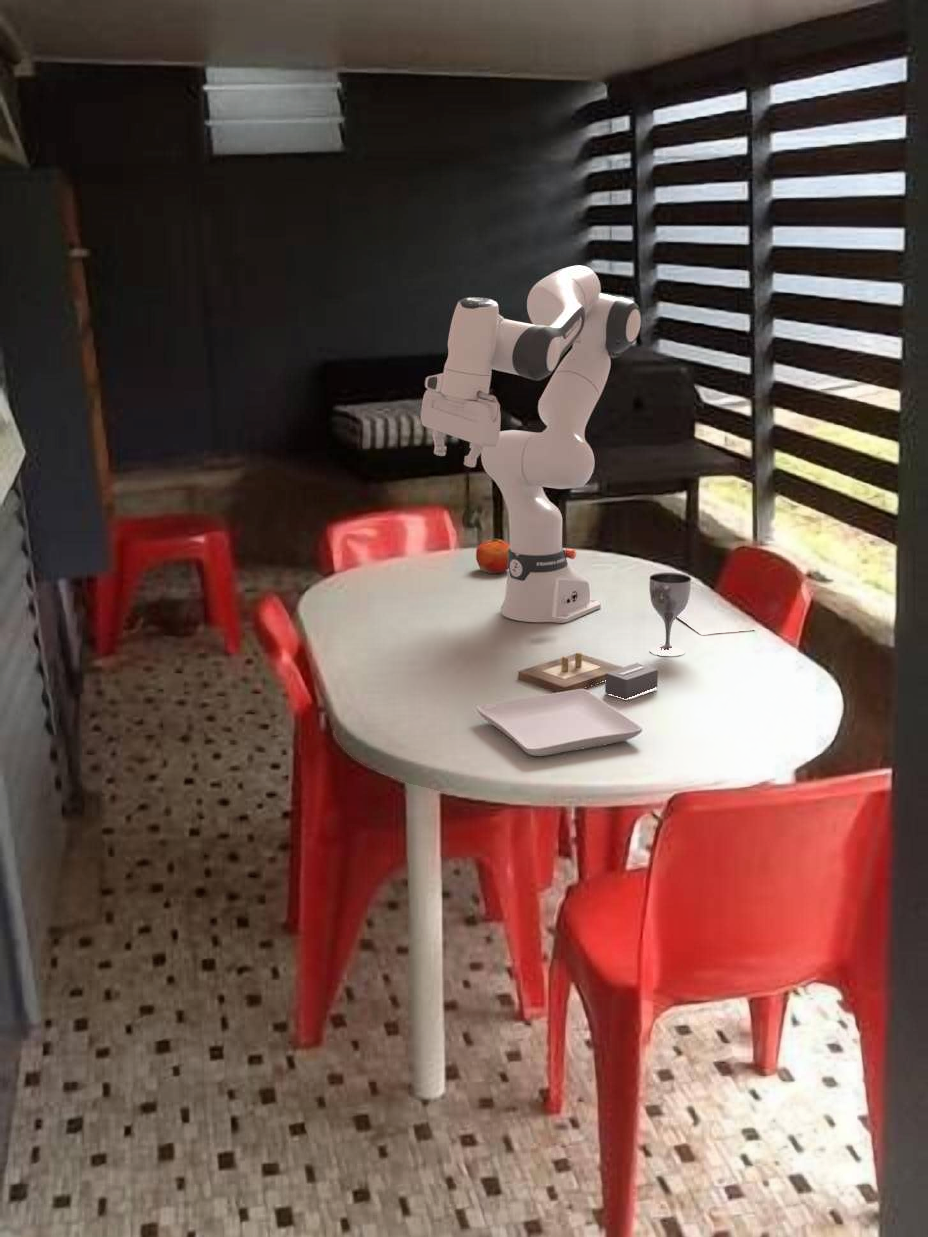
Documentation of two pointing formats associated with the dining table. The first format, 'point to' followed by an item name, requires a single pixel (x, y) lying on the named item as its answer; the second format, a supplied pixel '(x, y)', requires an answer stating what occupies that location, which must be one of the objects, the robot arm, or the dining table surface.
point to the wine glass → (669, 597)
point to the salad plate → (559, 722)
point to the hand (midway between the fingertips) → (454, 460)
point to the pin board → (568, 673)
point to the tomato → (493, 556)
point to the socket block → (631, 680)
